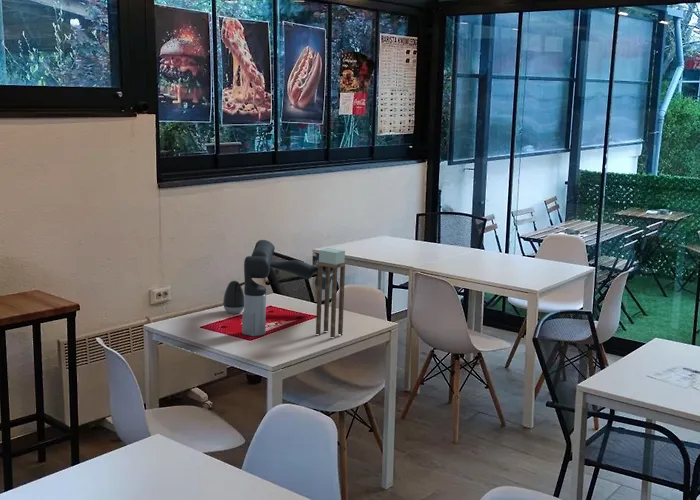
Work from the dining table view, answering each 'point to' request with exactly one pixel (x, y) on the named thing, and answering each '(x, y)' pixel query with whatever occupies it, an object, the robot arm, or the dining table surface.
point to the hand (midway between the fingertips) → (329, 255)
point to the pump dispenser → (234, 298)
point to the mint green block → (331, 256)
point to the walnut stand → (334, 292)
